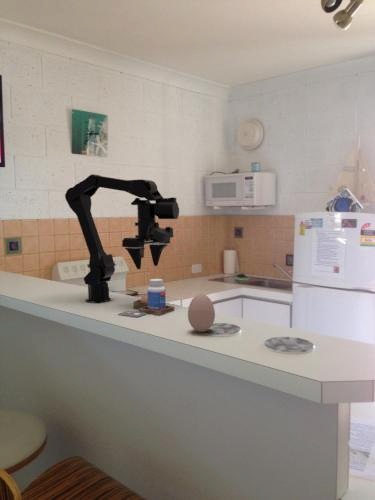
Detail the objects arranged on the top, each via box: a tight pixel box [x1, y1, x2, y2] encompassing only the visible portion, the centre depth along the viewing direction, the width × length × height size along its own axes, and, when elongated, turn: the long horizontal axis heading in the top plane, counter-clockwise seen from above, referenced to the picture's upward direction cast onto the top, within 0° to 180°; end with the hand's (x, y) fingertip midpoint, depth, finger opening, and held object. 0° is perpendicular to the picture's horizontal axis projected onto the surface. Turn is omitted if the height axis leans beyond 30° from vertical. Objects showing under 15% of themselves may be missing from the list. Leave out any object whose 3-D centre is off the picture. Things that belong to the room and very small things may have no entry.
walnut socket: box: [138, 305, 175, 317], centre depth 140 cm, size 8×8×1 cm
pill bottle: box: [147, 278, 167, 311], centre depth 139 cm, size 6×5×10 cm
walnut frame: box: [133, 299, 148, 310], centre depth 145 cm, size 6×6×2 cm
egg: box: [187, 293, 216, 333], centre depth 116 cm, size 7×7×10 cm
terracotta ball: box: [139, 294, 148, 303], centre depth 145 cm, size 4×4×4 cm
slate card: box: [118, 310, 148, 318], centre depth 136 cm, size 7×5×1 cm
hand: (147, 267), depth 150 cm, fingers open, 9 cm apart
